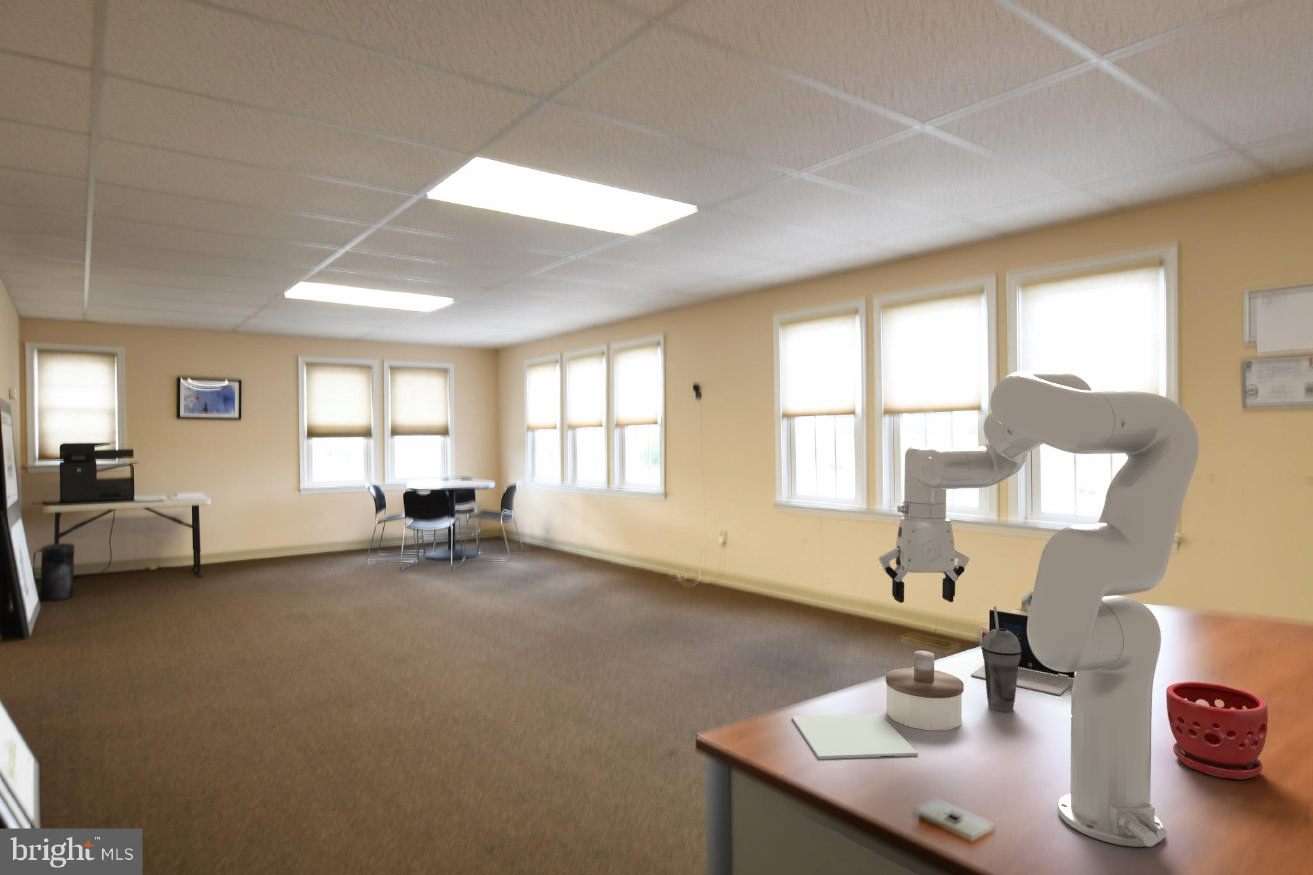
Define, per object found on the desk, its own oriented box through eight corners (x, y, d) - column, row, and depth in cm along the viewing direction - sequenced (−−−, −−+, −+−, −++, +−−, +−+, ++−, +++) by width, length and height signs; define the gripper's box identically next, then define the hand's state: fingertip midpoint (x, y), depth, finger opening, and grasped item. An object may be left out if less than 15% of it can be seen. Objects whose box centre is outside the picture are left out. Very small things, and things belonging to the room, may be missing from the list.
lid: (978, 697, 135) (978, 664, 134) (903, 699, 133) (903, 666, 133) (942, 671, 149) (942, 642, 148) (874, 673, 147) (874, 643, 147)
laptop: (970, 677, 164) (970, 619, 164) (989, 664, 173) (989, 609, 173) (1059, 697, 152) (1060, 634, 152) (1075, 682, 161) (1075, 622, 161)
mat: (917, 755, 124) (917, 752, 124) (818, 758, 123) (818, 755, 123) (879, 716, 141) (879, 713, 141) (792, 718, 140) (792, 716, 140)
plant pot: (1169, 743, 129) (1170, 674, 129) (1266, 764, 121) (1267, 692, 121) (1161, 769, 119) (1162, 695, 119) (1267, 795, 111) (1268, 715, 111)
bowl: (974, 729, 135) (974, 696, 135) (904, 731, 134) (904, 698, 134) (941, 702, 148) (941, 672, 148) (877, 704, 147) (877, 674, 147)
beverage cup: (1026, 716, 141) (1026, 612, 141) (985, 713, 143) (986, 610, 142) (1015, 702, 148) (1016, 603, 148) (976, 699, 150) (977, 601, 149)
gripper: (888, 514, 136) (887, 606, 137) (978, 513, 138) (976, 605, 138) (873, 509, 144) (872, 596, 144) (959, 509, 145) (957, 595, 146)
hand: (923, 600), depth 141 cm, fingers open, 9 cm apart
